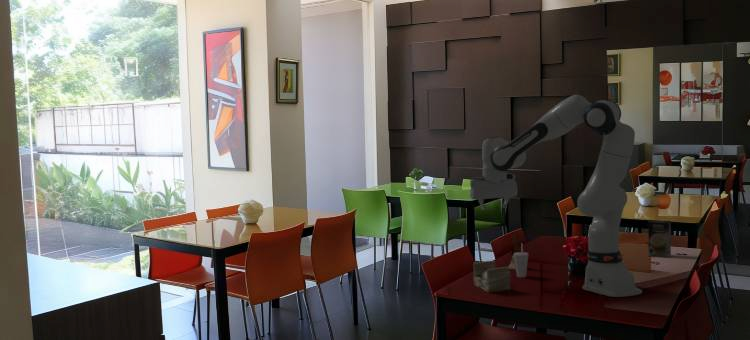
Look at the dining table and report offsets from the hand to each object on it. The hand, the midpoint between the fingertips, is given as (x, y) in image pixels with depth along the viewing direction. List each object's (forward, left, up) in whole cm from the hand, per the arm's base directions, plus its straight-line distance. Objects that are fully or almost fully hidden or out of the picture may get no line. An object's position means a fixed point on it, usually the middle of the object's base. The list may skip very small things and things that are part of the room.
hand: (494, 208), depth 274 cm
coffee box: (+5, -85, -29) cm, 90 cm away
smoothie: (-3, -10, -29) cm, 31 cm away
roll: (-14, +9, -26) cm, 31 cm away
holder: (-14, +9, -29) cm, 33 cm away
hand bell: (+12, -16, -29) cm, 36 cm away
